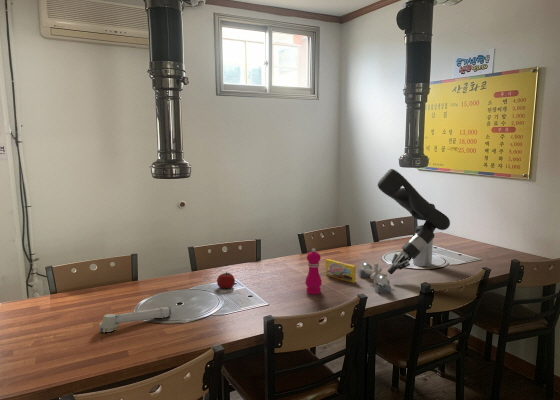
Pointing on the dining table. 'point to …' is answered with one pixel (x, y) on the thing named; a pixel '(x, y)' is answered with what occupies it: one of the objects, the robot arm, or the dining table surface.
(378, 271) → the pipe connector
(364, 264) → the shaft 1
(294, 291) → the dining table surface
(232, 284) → the tomato
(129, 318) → the toothbrush head
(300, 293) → the dining table surface
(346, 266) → the candy box
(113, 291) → the dining table surface
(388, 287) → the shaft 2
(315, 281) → the pepper mill
